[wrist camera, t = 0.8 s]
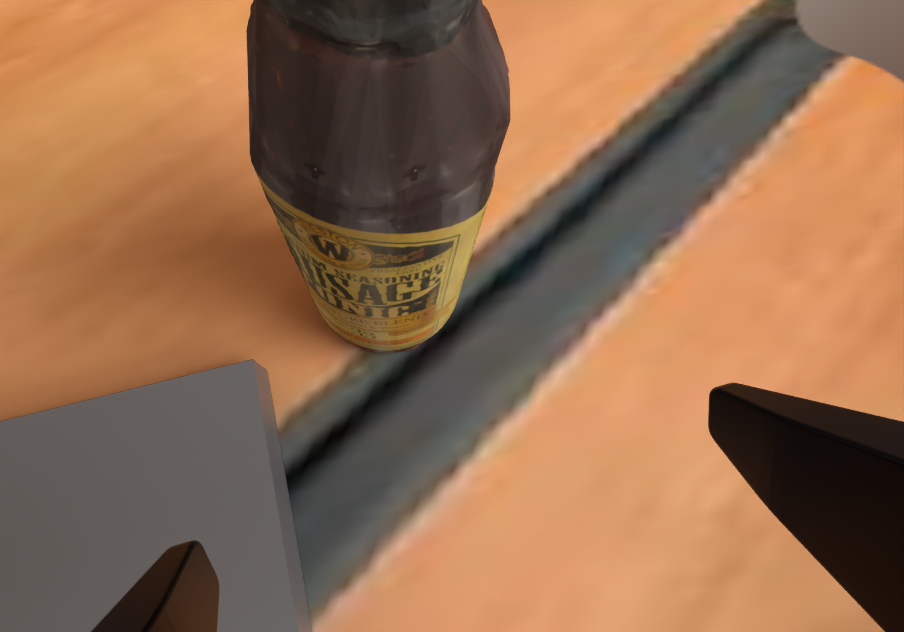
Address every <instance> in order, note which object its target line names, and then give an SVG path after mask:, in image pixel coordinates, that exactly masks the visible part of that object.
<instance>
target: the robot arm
mask: <svg viewBox="0 0 904 632" xmlns="http://www.w3.org/2000/svg"><path fill="white" fill-rule="evenodd" d="M708 427H709V431H710V434H711V436H712V438H713V439H714V441H715V442H716V443H717V445H718V446H719V447H720V448H721V450H722V451H723V452H724V454H725V455H726V456H727V457H728V459H729V460H730V461H731V462H732V464H733V465H734V466H735V467H736V469H737V470H738V471H739V473H740V474H741V475H742V476H743V478H744V479H745V480H746V481H747V483H748V484H749V485H750V487H751V488H752V489H753V490H754V492H755V493H756V494H757V495H758V497H759V498H760V499H761V500H762V501H763V503H764V504H765V505H766V506H767V507H768V509H769V510H770V511H771V512H772V513H773V514H774V515H775V516H776V517H777V519H778V520H779V521H780V522H781V523H782V524H783V525H784V526H785V527H786V528H787V529H788V530H789V531H790V532H791V533H792V534H793V535H794V536H795V538H796V539H797V540H798V541H799V542H800V543H801V544H802V545H803V546H804V547H805V548H806V549H807V550H808V551H809V552H810V553H811V554H812V555H813V556H814V558H815V559H816V560H817V561H818V562H819V563H820V564H821V565H822V566H823V567H824V568H825V569H826V570H827V571H828V572H829V573H830V574H831V575H832V577H833V578H834V579H835V580H836V581H837V582H838V583H839V584H840V585H841V586H842V587H843V588H844V589H845V590H846V591H847V592H848V593H849V594H850V595H851V597H852V598H853V599H854V600H855V601H856V602H857V603H858V604H859V605H860V606H861V607H862V608H863V609H864V610H865V611H866V612H867V613H868V614H869V615H870V617H871V618H872V619H873V620H874V621H875V622H876V623H877V624H878V625H879V626H880V627H881V628H882V629H883V630H884V631H885V632H904V422H902V421H898V420H894V419H889V418H885V417H881V416H876V415H872V414H868V413H863V412H859V411H855V410H850V409H846V408H842V407H838V406H833V405H829V404H825V403H820V402H816V401H812V400H807V399H803V398H799V397H794V396H790V395H786V394H782V393H777V392H773V391H769V390H764V389H760V388H756V387H751V386H747V385H743V384H738V383H729V384H725V385H722V386H718V387H715V388H713V389H712V390H711V392H710V394H709V417H708ZM218 608H219V581H218V577H217V575H216V573H215V570H214V568H213V566H212V564H211V562H210V560H209V558H208V556H207V554H206V552H205V550H204V548H203V546H202V544H201V543H200V542H199V541H196V540H191V541H188V542H185V543H181V544H178V545H174V546H172V547H170V548H168V549H167V550H166V551H165V552H164V553H163V554H162V555H161V556H160V557H159V558H158V559H157V561H156V562H155V563H154V564H153V565H152V566H151V567H150V568H149V569H148V570H147V571H146V572H145V573H144V575H143V576H142V577H141V578H140V579H139V580H138V581H137V582H136V583H135V584H134V585H133V586H132V588H131V589H130V590H129V591H128V592H127V593H126V594H125V595H124V596H123V597H122V598H121V599H120V600H119V602H118V603H117V604H116V605H115V606H114V607H113V608H112V609H111V610H110V611H109V612H108V613H107V615H106V616H105V617H104V618H103V619H102V620H101V621H100V622H99V623H98V624H97V625H96V626H95V628H94V629H93V630H92V631H91V632H217V624H218Z"/></svg>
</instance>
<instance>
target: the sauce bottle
mask: <svg viewBox="0 0 904 632" xmlns="http://www.w3.org/2000/svg"><path fill="white" fill-rule="evenodd" d="M247 56H248V91H249V132H250V156H251V162H252V164H253V166H254V169H255V171H256V173H257V176H258V178H259V180H260V183H261V185H262V188H263V190H264V192H265V195H266V198H267V200H268V202H269V204H270V205H271V207H272V209H273V211H274V214H275V216H276V218H277V222H278V224H279V226H280V228H281V231H282V232H283V234H284V236H285V239H286V241H287V244H288V246H289V248H290V251H291V253H292V255H293V256H294V258H295V261H296V263H297V265H298V267H299V269H300V271H301V273H302V276H303V278H304V280H305V282H306V285H307V287H308V289H309V292H310V294H311V296H312V298H313V301H314V303H315V305H316V307H317V309H318V311H319V312H320V314H321V316H322V317H323V319H324V320H325V321H326V322H327V324H328V325H329V326H330V327H331V328H332V329H333V330H334V331H335V332H337V333H338V334H339V335H341V336H342V337H343V338H344V339H345V340H346V341H347V342H349V343H351V344H354V345H355V346H356V347H358V348H360V349H362V350H364V351H371V352H386V353H389V352H398V351H408V350H412V349H415V348H416V347H417V346H419V345H420V344H421V343H423V342H424V341H426V340H427V339H428V338H430V337H431V336H433V335H434V334H435V333H436V332H437V331H438V330H439V329H440V328H441V327H442V326H443V325H444V324H445V323H446V321H447V320H448V318H449V317H450V315H451V314H452V312H453V310H454V308H455V305H456V303H457V300H458V297H459V294H460V290H461V287H462V283H463V280H464V276H465V273H466V270H467V267H468V263H469V260H470V257H471V254H472V251H473V248H474V244H475V241H476V238H477V235H478V231H479V228H480V225H481V222H482V219H483V216H484V212H485V209H486V206H487V203H488V200H489V197H490V194H491V191H492V187H493V182H494V176H495V165H496V163H497V159H498V156H499V153H500V150H501V147H502V144H503V141H504V138H505V135H506V132H507V129H508V126H509V123H510V86H509V76H508V71H509V69H508V66H507V64H506V60H505V56H504V52H503V49H502V47H501V45H500V42H499V39H498V36H497V33H496V30H495V27H494V25H493V22H492V19H491V17H490V14H489V12H488V10H487V8H486V7H485V6H484V5H483V4H482V0H254V1H253V3H252V5H251V14H250V17H249V21H248V26H247Z"/></svg>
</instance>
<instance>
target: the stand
mask: <svg viewBox="0 0 904 632" xmlns="http://www.w3.org/2000/svg"><path fill="white" fill-rule="evenodd" d="M191 540H196V541H199V542H200V543H201V544H202V546H203V548H204V550H205V552H206V554H207V556H208V558H209V560H210V562H211V564H212V566H213V568H214V570H215V573H216V575H217V577H218V581H219V608H218V624H217V632H312V626H311V620H310V614H309V609H308V603H307V597H306V591H305V586H304V580H303V574H302V568H301V562H300V557H299V551H298V545H297V539H296V534H295V528H294V522H293V516H292V511H291V505H290V499H289V493H288V488H287V482H286V476H285V470H284V465H283V459H282V453H281V447H280V441H279V436H278V430H277V424H276V418H275V413H274V407H273V401H272V395H271V390H270V384H269V378H268V372H267V370H266V369H265V368H263V367H262V366H261V365H260V364H258V363H257V362H256V361H254V360H253V359H252V360H248V361H243V362H239V363H235V364H231V365H227V366H223V367H219V368H215V369H211V370H207V371H203V372H199V373H195V374H191V375H187V376H183V377H179V378H175V379H170V380H166V381H162V382H158V383H154V384H150V385H146V386H142V387H138V388H134V389H130V390H126V391H122V392H118V393H114V394H110V395H106V396H102V397H98V398H93V399H89V400H85V401H81V402H77V403H73V404H69V405H65V406H61V407H57V408H53V409H49V410H45V411H41V412H37V413H33V414H29V415H25V416H20V417H16V418H12V419H8V420H4V421H0V632H91V631H92V630H93V629H94V628H95V626H96V625H97V624H98V623H99V622H100V621H101V620H102V619H103V618H104V617H105V616H106V615H107V613H108V612H109V611H110V610H111V609H112V608H113V607H114V606H115V605H116V604H117V603H118V602H119V600H120V599H121V598H122V597H123V596H124V595H125V594H126V593H127V592H128V591H129V590H130V589H131V588H132V586H133V585H134V584H135V583H136V582H137V581H138V580H139V579H140V578H141V577H142V576H143V575H144V573H145V572H146V571H147V570H148V569H149V568H150V567H151V566H152V565H153V564H154V563H155V562H156V561H157V559H158V558H159V557H160V556H161V555H162V554H163V553H164V552H165V551H166V550H167V549H168V548H170V547H172V546H174V545H178V544H181V543H185V542H188V541H191Z"/></svg>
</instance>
